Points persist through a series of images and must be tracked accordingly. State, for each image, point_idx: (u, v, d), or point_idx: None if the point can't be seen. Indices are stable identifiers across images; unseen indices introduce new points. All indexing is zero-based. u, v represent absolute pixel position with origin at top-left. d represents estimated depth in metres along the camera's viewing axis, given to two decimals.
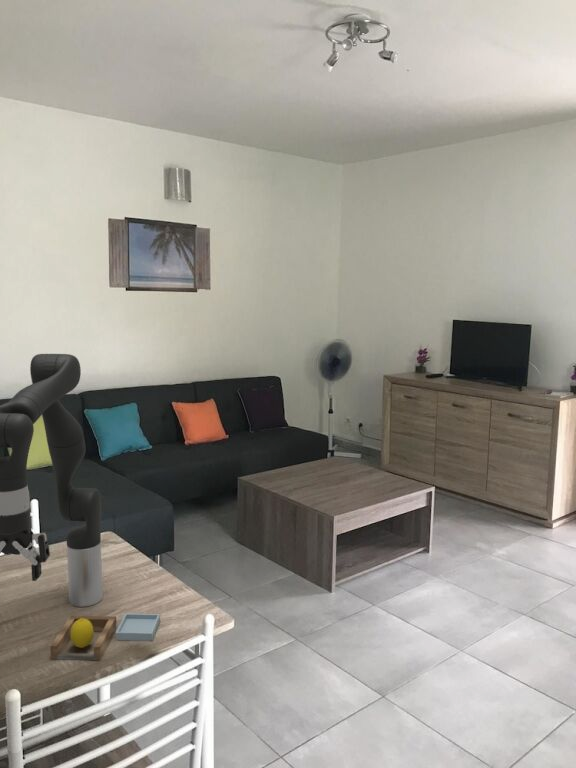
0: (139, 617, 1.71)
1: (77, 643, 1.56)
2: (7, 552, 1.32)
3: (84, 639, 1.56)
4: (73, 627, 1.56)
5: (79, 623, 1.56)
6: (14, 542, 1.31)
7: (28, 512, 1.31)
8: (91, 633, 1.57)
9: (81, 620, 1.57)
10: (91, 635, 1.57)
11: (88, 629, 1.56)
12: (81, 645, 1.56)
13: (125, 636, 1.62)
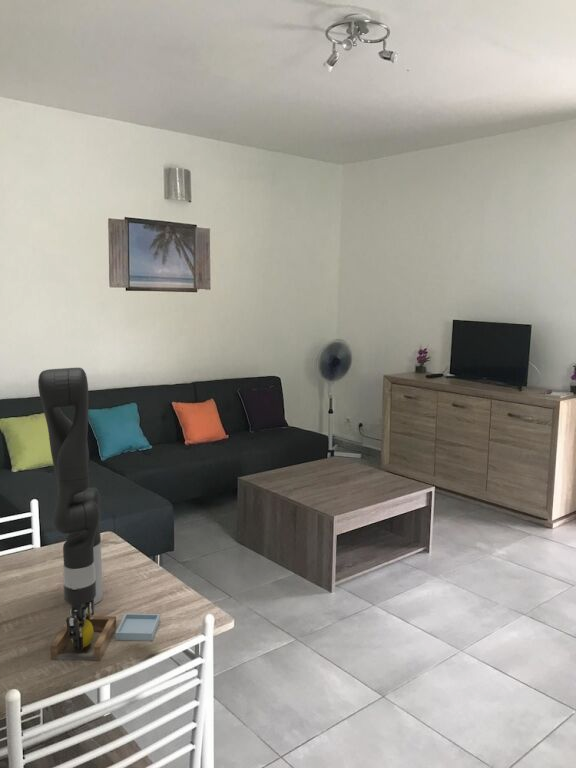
0: (139, 617, 1.71)
1: None
2: None
3: (84, 639, 1.56)
4: None
5: None
6: (90, 603, 1.58)
7: None
8: (91, 633, 1.57)
9: None
10: (91, 635, 1.57)
11: (88, 629, 1.56)
12: None
13: (125, 636, 1.62)
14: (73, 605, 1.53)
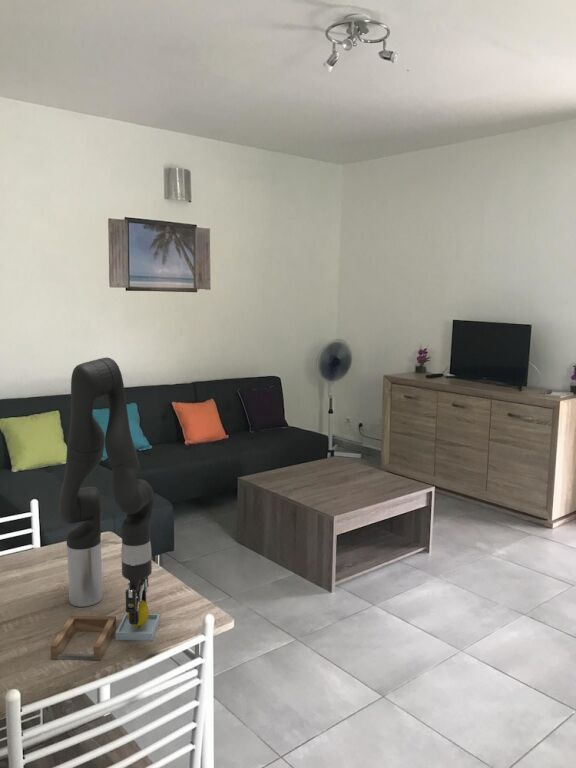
0: None
1: None
2: None
3: (141, 618, 1.64)
4: None
5: None
6: (145, 580, 1.66)
7: None
8: (147, 613, 1.65)
9: None
10: (147, 615, 1.65)
11: (144, 609, 1.65)
12: (138, 624, 1.64)
13: (125, 636, 1.62)
14: (131, 581, 1.61)
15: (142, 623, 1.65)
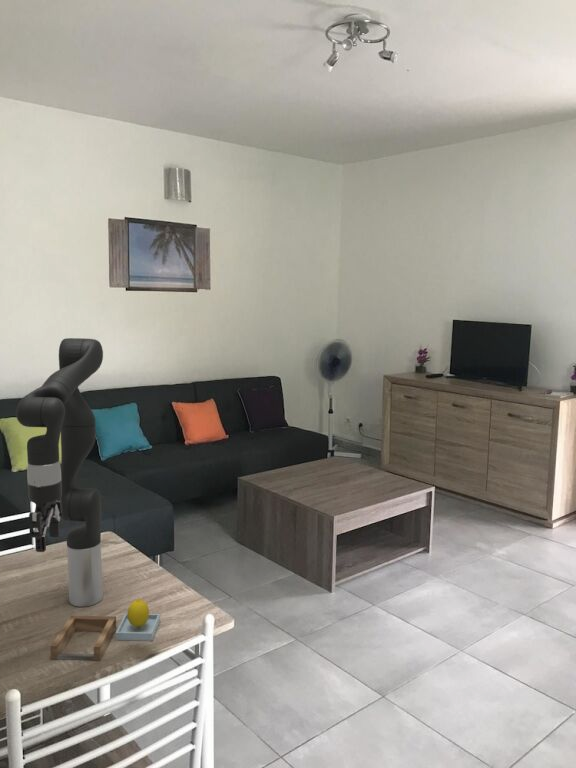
0: None
1: (134, 622, 1.64)
2: None
3: (141, 618, 1.64)
4: (130, 607, 1.64)
5: (136, 603, 1.65)
6: (55, 505, 1.53)
7: None
8: (147, 613, 1.65)
9: (138, 601, 1.65)
10: (147, 615, 1.65)
11: (144, 609, 1.65)
12: (138, 624, 1.64)
13: (125, 636, 1.62)
14: (37, 504, 1.47)
15: (142, 623, 1.65)
